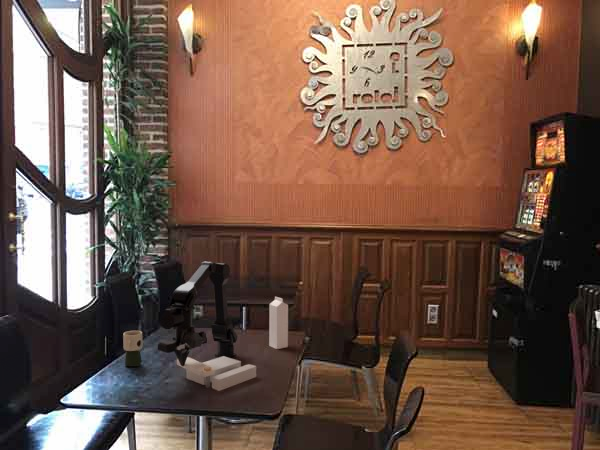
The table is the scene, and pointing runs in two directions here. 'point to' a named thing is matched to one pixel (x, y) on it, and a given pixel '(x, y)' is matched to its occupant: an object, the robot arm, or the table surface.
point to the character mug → (132, 347)
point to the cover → (197, 367)
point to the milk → (278, 324)
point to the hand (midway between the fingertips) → (182, 366)
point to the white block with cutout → (224, 373)
